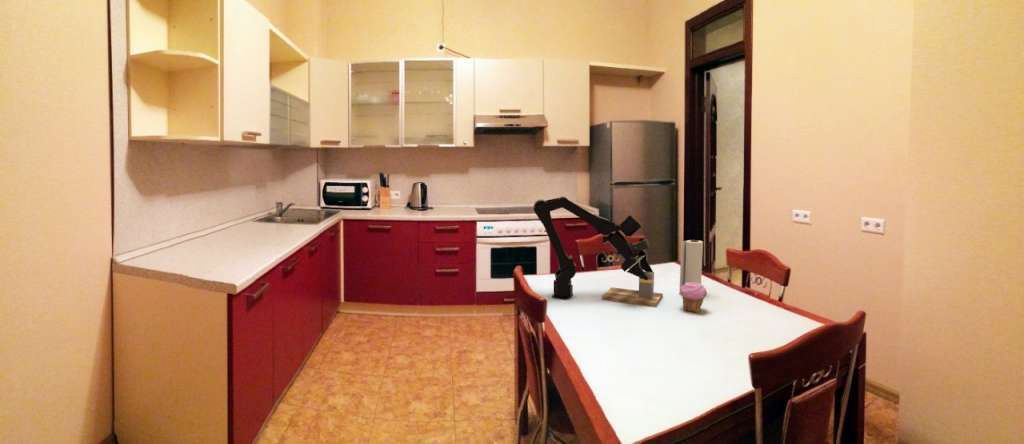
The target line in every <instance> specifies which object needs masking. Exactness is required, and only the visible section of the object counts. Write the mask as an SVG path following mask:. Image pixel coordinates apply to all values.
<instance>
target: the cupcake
mask: <svg viewBox="0 0 1024 444" xmlns="http://www.w3.org/2000/svg"><path fill="white" fill-rule="evenodd" d="M679 291H680V296H681V297H682V307H683V309H684V310H685V311H689V312H693V313H698V312H699V310H700V309H701V307H702V305H703V302H704V299H705V298H706V297H708V291H707V289H706V287H705V286H704V285H703V284H702V283H701V284H700V283H696V282H689V283H685V284H684V285H683V286H681V288H680V287H679Z"/></svg>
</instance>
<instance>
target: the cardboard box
mask: <svg viewBox="0 0 1024 444" xmlns="http://www.w3.org/2000/svg"><path fill="white" fill-rule="evenodd" d="M662 299H664V294H663V293H661V292H654V291H653V297H652V298H651V299H649V298H641V297H639V289H638V290H637V289H628V288H619V287H612V286H611V287H610V288H609V289H608V290H607V291H606V292H605V293H603V294H602V295H601V300H602V301H609V302H616V303H624V304H631V305H638V306H646V307H653V308H657V306H658V305H659V304H660V302H661V301H662Z"/></svg>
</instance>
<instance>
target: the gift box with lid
mask: <svg viewBox="0 0 1024 444" xmlns="http://www.w3.org/2000/svg"><path fill="white" fill-rule="evenodd" d="M643 271H644V270H643ZM644 272H645V274H646V275H647V277H648V278H649V279H648V280H644V279H642V278H640V277H638V291H639V297H641V298H649V299H651V298H652V297H653V292H654V290H655V289H654V288H655V287H654V286H655V283H654V282H655V272H654V271H653V272H646V271H644Z"/></svg>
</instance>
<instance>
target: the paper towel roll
mask: <svg viewBox="0 0 1024 444" xmlns="http://www.w3.org/2000/svg"><path fill="white" fill-rule="evenodd" d="M680 246H681V247H680V266H679V267H680V269H679V270H680V272H679V289H680V288H681V286H683V285H684V284H685V283H689V282H696V283H700V284H702V273H703V249H704V248H703V247H704V241H702V240H697V239H689V240H683V241H681V245H680ZM678 295H680V290H679V293H678ZM680 296H681V295H680Z"/></svg>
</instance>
